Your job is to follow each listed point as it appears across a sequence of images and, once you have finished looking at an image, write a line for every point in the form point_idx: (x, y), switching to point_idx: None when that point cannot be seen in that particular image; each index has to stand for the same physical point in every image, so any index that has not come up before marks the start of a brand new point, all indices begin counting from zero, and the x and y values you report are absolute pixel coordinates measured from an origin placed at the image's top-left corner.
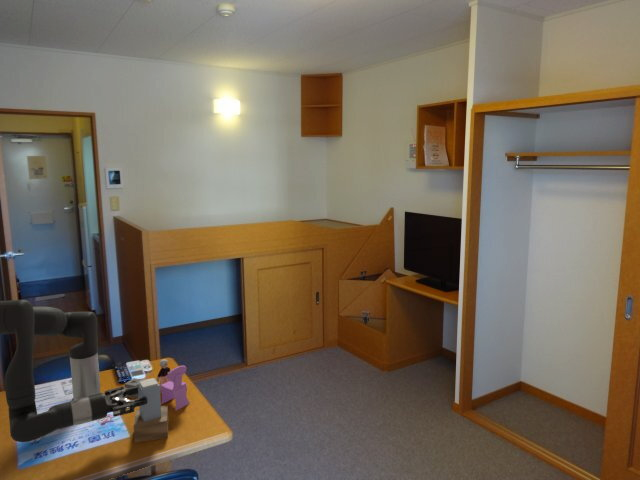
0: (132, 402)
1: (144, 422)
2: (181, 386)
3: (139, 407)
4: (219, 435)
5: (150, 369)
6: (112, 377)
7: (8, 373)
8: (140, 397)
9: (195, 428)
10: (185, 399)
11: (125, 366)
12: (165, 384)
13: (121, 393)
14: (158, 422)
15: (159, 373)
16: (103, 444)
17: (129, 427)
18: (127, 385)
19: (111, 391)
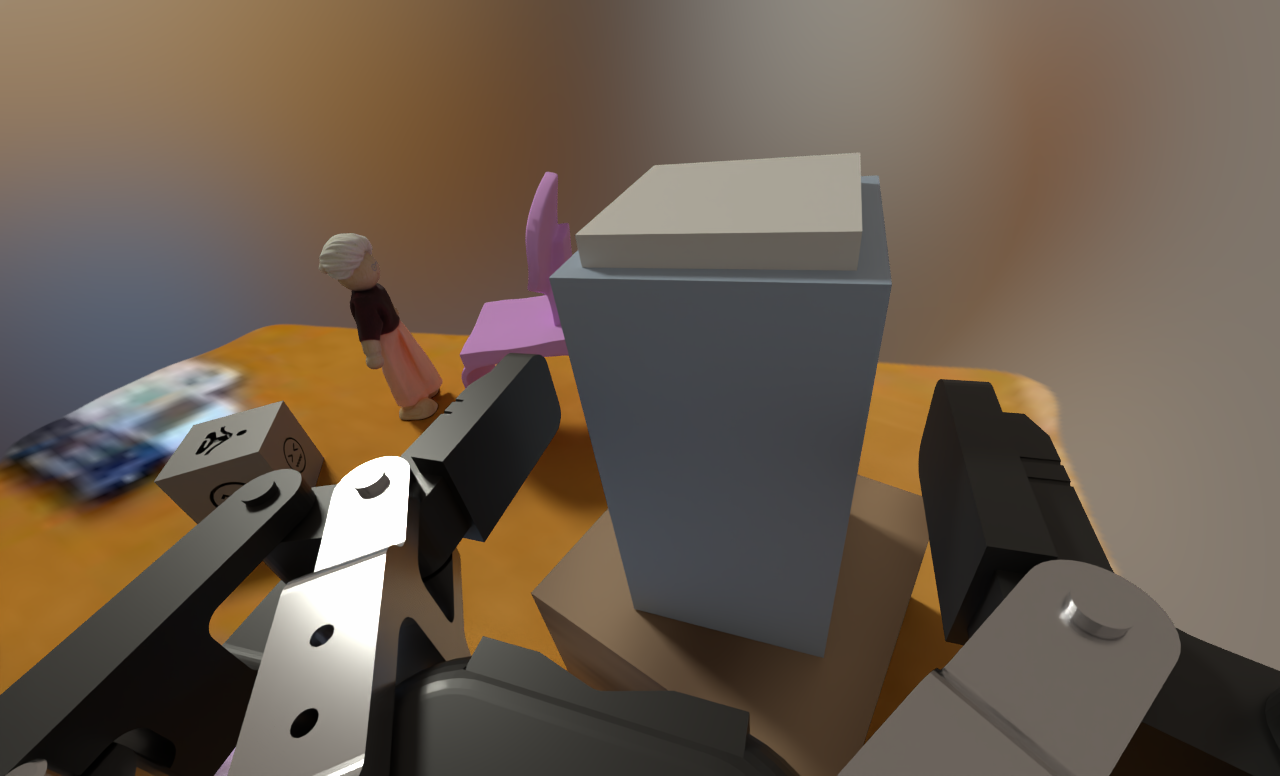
0: (1176, 649)
1: (841, 660)
2: None
3: (630, 563)
4: (1045, 400)
5: (230, 377)
6: (20, 502)
7: None
8: (711, 454)
9: (891, 443)
10: None
11: (70, 426)
12: (484, 339)
13: (409, 610)
14: (921, 560)
15: (365, 320)
16: None
17: None
18: (187, 479)
19: (53, 748)
